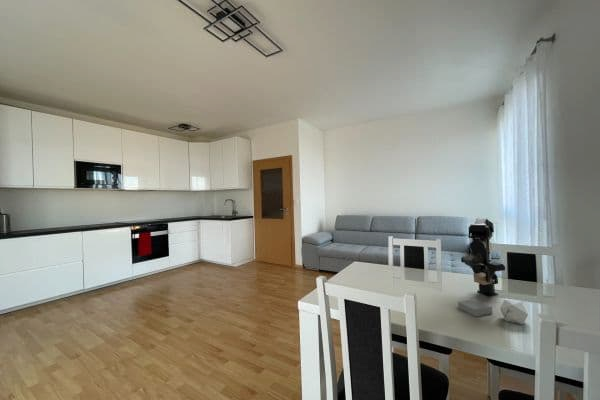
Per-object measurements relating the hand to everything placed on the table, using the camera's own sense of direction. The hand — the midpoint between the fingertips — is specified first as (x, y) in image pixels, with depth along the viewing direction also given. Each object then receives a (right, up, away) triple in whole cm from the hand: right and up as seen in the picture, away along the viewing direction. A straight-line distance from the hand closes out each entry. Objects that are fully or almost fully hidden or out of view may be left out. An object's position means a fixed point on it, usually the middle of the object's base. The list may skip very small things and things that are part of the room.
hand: (482, 280), depth 114 cm
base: (-10, -12, -7) cm, 17 cm away
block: (0, -1, 0) cm, 1 cm away
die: (-1, -11, -18) cm, 21 cm away
